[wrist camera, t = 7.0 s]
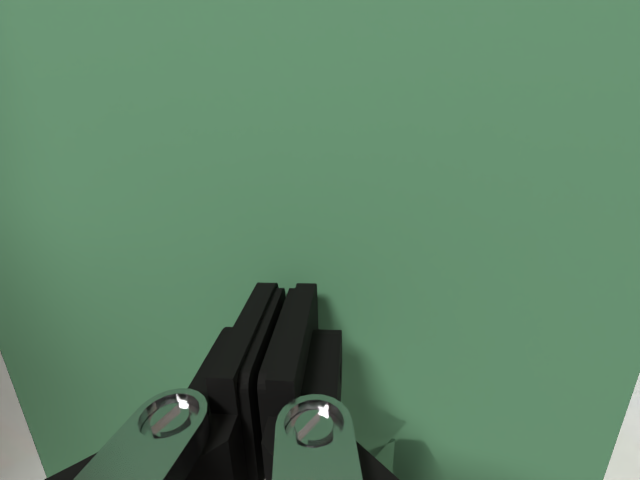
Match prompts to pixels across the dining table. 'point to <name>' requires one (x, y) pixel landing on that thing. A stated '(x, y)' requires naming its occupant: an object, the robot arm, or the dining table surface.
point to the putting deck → (330, 214)
